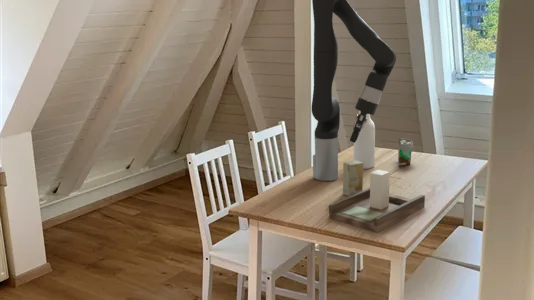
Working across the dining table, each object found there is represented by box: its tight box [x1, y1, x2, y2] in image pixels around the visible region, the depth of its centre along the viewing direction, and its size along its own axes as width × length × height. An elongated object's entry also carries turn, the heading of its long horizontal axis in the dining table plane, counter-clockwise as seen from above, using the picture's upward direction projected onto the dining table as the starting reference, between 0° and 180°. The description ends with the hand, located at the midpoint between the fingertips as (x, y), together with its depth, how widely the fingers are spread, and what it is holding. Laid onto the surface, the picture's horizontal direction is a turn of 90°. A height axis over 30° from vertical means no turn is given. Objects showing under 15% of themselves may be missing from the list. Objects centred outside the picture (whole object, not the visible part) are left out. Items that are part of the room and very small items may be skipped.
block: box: [369, 169, 390, 210], centre depth 189 cm, size 4×4×12 cm
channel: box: [328, 187, 426, 233], centre depth 190 cm, size 19×28×4 cm
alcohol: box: [353, 110, 376, 170], centre depth 239 cm, size 9×9×30 cm
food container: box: [397, 137, 414, 168], centre depth 243 cm, size 12×6×10 cm, turn 168°
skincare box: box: [342, 160, 364, 197], centre depth 208 cm, size 6×4×12 cm
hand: (352, 140), depth 210 cm, fingers open, 8 cm apart
